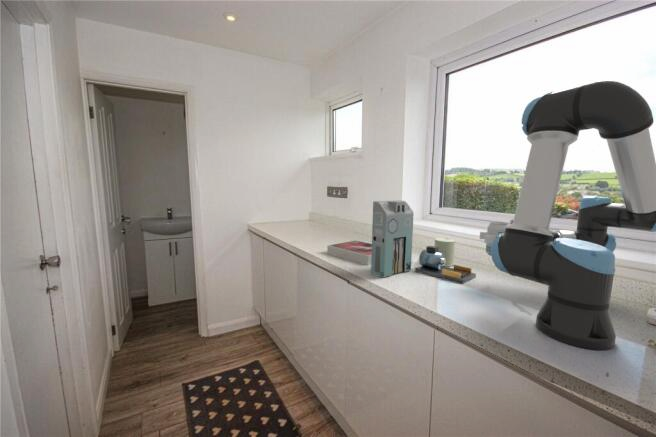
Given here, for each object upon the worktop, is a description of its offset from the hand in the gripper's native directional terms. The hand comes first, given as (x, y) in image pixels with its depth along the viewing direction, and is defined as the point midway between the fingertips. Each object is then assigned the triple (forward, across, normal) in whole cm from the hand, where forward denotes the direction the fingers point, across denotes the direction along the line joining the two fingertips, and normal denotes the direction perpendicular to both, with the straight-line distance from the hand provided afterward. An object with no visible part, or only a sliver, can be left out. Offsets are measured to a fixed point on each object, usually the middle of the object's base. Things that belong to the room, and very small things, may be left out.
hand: (482, 237), depth 106 cm
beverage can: (-5, 0, -7) cm, 8 cm away
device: (+33, +4, -18) cm, 38 cm away
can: (+10, +26, -18) cm, 33 cm away
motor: (+11, +8, -18) cm, 23 cm away
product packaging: (+50, +28, -19) cm, 60 cm away
